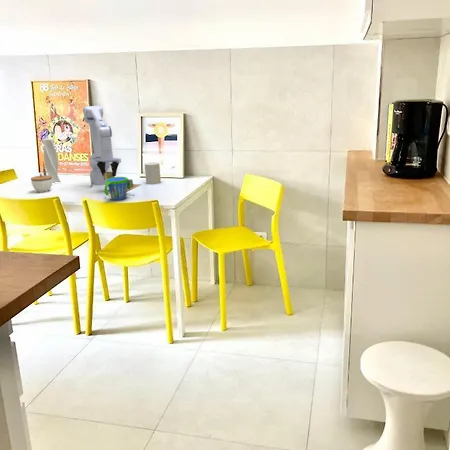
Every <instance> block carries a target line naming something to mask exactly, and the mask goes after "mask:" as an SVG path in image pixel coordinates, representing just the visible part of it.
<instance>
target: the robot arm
mask: <svg viewBox="0 0 450 450" xmlns="http://www.w3.org/2000/svg"><path fill="white" fill-rule="evenodd" d="M82 111H83V118H84V122H85V123H87V124H88V126H89V130H90V136H91V141H92V148H93V154H91V155H90V156H89V161H90V168H91V171H90V172H89V179H90V187H94V186H95V185H96V186H105V184H106V180H104V176H103V173H104V172H109V171H108V170H109V168H111V172H112V175H113V177H117V170H118V167H119V165H120V163H122V159H121V158H120V157H119V158H117V157H113V156H114V154H113V146H112V145H113V144H112V136H113V133H112V128H111V125H108V123H107V121H106V120H105V119H104V118H103V116H104V108H103V107H102V105H100V104H99V105H89V106H88V105H87V106H83V108H82Z"/></svg>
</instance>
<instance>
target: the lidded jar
mask: <svg viewBox="0 0 450 450" xmlns="http://www.w3.org/2000/svg"><path fill="white" fill-rule="evenodd" d="M30 180H31V184H32V188H33V189H34V190H35V191H36V192H37V193H45V192H44V191H47V192H49V191H50V189H52V186H53V184H52V176H49V175H48V174H46V175H44V174H43V175H42V173H40V174H39V175H35V176H32V177H31V178H30ZM48 190H49V191H48Z"/></svg>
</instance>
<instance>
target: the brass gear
mask: <svg viewBox="0 0 450 450" xmlns="http://www.w3.org/2000/svg"><path fill="white" fill-rule="evenodd" d="M103 176H104V180H106V179H108V178H112V177H113V175H112V171H108V172H104V173H103Z"/></svg>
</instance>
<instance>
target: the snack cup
mask: <svg viewBox="0 0 450 450" xmlns="http://www.w3.org/2000/svg"><path fill="white" fill-rule="evenodd" d="M130 188H131V185H130V181H129V178H128V177H126V176H114V177H112V178H108V179H106V184H105V185H104V190H103V191H104V195H105V196H109V195H110V198H111V200H113V201H121V200H125V199H127V194H128V193H127V189H130ZM108 190H109V191H108Z"/></svg>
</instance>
